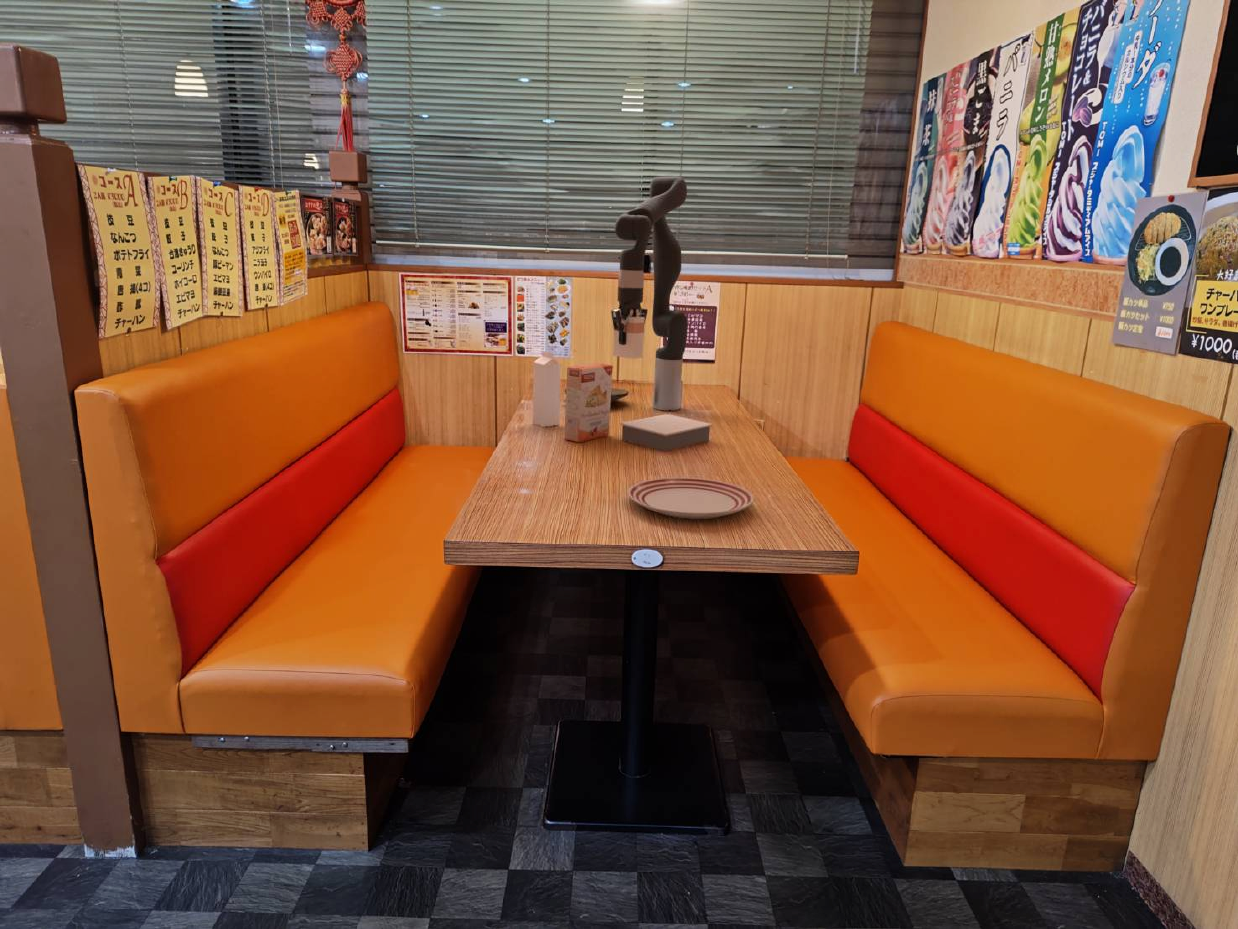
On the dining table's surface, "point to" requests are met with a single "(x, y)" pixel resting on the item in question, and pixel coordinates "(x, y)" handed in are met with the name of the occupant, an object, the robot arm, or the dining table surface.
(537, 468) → the dining table surface
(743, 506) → the dinner plate
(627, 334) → the cream carton
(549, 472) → the dining table surface
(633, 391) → the dining table surface
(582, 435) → the cracker box
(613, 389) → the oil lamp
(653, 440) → the plate
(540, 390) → the milk
